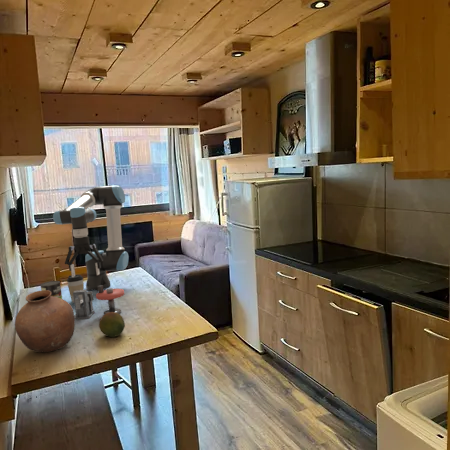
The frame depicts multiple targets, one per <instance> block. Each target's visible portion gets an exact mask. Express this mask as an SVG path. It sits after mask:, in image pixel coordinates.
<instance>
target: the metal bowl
mask: <svg viewBox="0 0 450 450" xmlns="http://www.w3.org/2000/svg"><path fill="white" fill-rule="evenodd" d="M107 302H108V303H107V304H108V309H107V310H104V311H103V316H104V315H105V314H106V313H109V312H116V313H118V314H120V315H121V313H122V309H121V308H116V304H115V299H111V300H107Z"/></svg>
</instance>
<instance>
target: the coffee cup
mask: <svg viewBox="0 0 450 450" xmlns="http://www.w3.org/2000/svg"><path fill="white" fill-rule="evenodd" d="M66 282H67V287H68V293H69V295H70V296H69V297H70V299H71V303H74V297H73V292H74V291H76V290H85V288H84V287H85V286H84V277H83V276H82V275H81V274H75V276H74V277H72V275H69V276H68V278H66ZM79 298H80V301H81V300H82V299H83V296H82V295H79Z"/></svg>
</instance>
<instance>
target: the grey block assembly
mask: <svg viewBox="0 0 450 450" xmlns="http://www.w3.org/2000/svg"><path fill="white" fill-rule="evenodd" d="M87 292H88V290H87V289H84V290H76V291H74V292H73V297H74V302H73V303H74V318H75V320H85V319H88V320H89V319H90V318H91V317H92V316H93V315H94V314H95V311H94V305H93V301H92V300H89V301H88V296H87ZM79 295H82V296H83V304H84V306H83V307H82V308H81V309H76V303H75V298H79Z"/></svg>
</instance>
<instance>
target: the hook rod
mask: <svg viewBox="0 0 450 450" xmlns="http://www.w3.org/2000/svg"><path fill="white" fill-rule="evenodd" d="M93 291H94V290H89V291H87V296H88V301H89V300H92V302H94V293H93ZM75 303H76V309H81V308H82V307H83V306H84V304H83V299H82V300H81V301H80V298H75Z"/></svg>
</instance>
